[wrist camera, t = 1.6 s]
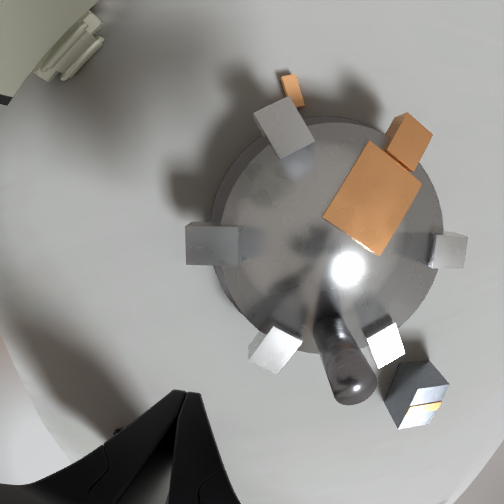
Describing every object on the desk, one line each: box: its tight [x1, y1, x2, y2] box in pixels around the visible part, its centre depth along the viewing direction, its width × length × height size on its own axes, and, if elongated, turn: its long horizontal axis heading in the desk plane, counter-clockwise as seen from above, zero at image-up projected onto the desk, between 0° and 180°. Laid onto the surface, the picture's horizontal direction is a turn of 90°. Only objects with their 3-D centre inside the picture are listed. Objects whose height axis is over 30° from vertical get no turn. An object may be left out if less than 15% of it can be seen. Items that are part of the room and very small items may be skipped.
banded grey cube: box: [384, 361, 449, 429], centre depth 18 cm, size 4×3×4 cm
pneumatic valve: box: [0, 0, 105, 105], centre depth 8 cm, size 6×12×12 cm, turn 131°
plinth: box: [210, 74, 380, 316], centre depth 16 cm, size 16×14×1 cm
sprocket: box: [185, 96, 468, 405], centre depth 13 cm, size 14×15×7 cm
